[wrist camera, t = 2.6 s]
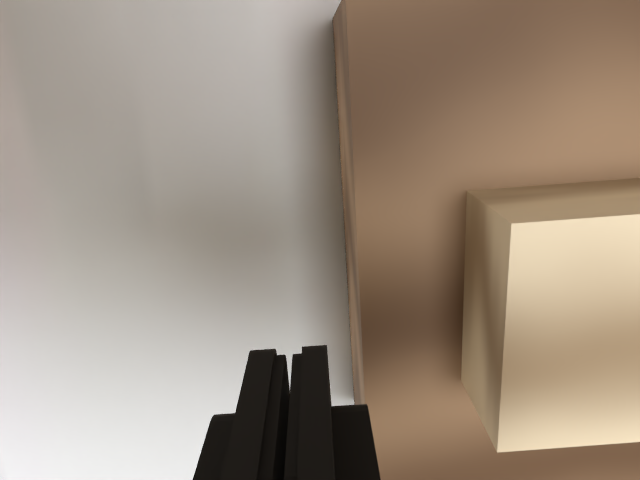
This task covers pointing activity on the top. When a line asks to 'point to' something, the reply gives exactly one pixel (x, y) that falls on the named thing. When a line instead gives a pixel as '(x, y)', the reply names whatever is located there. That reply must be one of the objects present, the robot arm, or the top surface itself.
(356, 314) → the walnut riser
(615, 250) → the birch tile
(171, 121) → the top surface
